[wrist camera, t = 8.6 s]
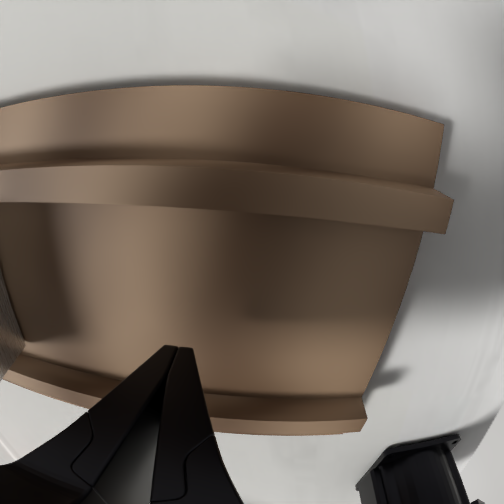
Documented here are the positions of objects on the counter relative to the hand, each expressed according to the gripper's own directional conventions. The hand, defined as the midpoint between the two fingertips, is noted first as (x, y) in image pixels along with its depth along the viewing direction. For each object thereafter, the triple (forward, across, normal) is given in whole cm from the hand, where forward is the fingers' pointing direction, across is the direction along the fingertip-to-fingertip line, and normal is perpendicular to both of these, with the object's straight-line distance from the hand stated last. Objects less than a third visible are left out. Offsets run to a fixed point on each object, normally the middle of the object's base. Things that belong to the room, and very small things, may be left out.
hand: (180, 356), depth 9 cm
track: (+3, +4, 0) cm, 5 cm away
